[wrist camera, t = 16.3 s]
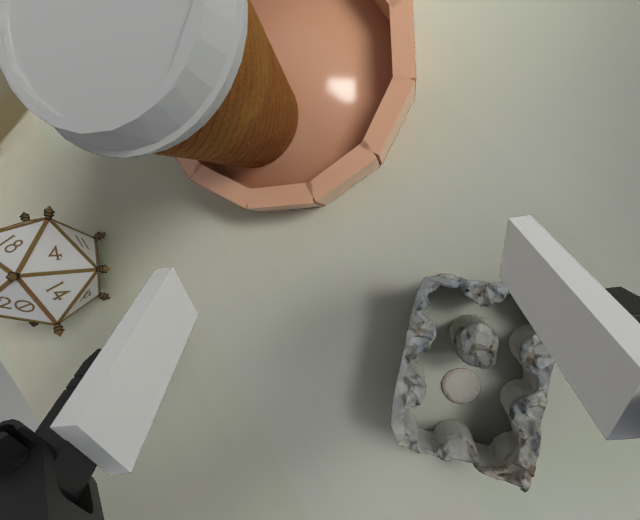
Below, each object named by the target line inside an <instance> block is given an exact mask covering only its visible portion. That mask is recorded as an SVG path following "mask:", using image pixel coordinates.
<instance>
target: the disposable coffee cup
mask: <svg viewBox="0 0 640 520" xmlns="http://www.w3.org/2000/svg"><path fill="white" fill-rule="evenodd" d="M0 67H1V69H2V71H3V73H4V75H5V77H6V79H7V81H8V83H9V85H10V87H11V89H12V90H13V91H14V93H15V94H16V95H17V96H18V98H19V99H20V100H21V101H22V103H23V104H24V105H25V106H26V107H27V109H28V110H30V111H31V112H32V113H34V114H35V115H37V116H38V117H40V118H41V119H42V120H44V121H45V122H47V123H48V124H49V125H51V126H53V127H54V128H55V129H56V130H57V131H58V132H59V133H60V134H61V135H62V136H63V137H64V138H65V139H66V140H68V141H70V142H72V143H73V144H75V145H77V146H78V147H80V148H82V149H83V150H86V151H89V152H92V153H95V154H98V155H101V156H106V157H115V158H130V157H139V156H144V155H148V154H154V153H155V154H157V155H165V156H173V157H179V158H186V159H191V160H198V161H206V162H212V163H219V164H225V165H234V166H239V167H244V168H258V167H262V166H265V165H267V164H270V163H272V162H273V161H275V160H276V159H278V158H279V157H280V156H281V155H282V154H283V153H284V152H285V151H286V150H287V148H288V147H289V145H290V144H291V142H292V140H293V138H294V136H295V133H296V129H297V125H298V115H299V113H298V105H297V101H296V98H295V95H294V93H293V91H292V89H291V87H290V85H289V83H288V80H287V78H286V76H285V74H284V72H283V70H282V67H281V65H280V63H279V61H278V59H277V57H276V54H275V52H274V50H273V48H272V46H271V44H270V42H269V40H268V38H267V35H266V33H265V31H264V28H263V26H262V24H261V22H260V20H259V17H258V15H257V13H256V11H255V9H254V6H253V5H252V3H251V0H0Z"/></svg>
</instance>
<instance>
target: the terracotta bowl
mask: <svg viewBox="0 0 640 520" xmlns="http://www.w3.org/2000/svg"><path fill="white" fill-rule="evenodd" d="M251 3H252V5H253V6H254V9H255V11H256V13H257V15H258V17H259V20H260V22H261V24H262V26H263V28H264V31H265V33H266V35H267V38H268V40H269V42H270V44H271V46H272V48H273V50H274V52H275V54H276V57H277V59H278V61H279V63H280V65H281V67H282V70H283V72H284V74H285V76H286V78H287V80H288V83H289V85H290V87H291V89H292V91H293V93H294V95H295V98H296V101H297V105H298V113H299V115H298V125H297V129H296V133H295V136H294V138H293V140H292V142H291V144H290V145H289V147H288V148H287V150H286V151H285V152H284V153H283V154H282V155H281V156H280V157H279V158H278V159H276V160H275V161H273V162H272V163H270V164H267V165H265V166H262V167H258V168H244V167H239V166H234V165H225V164H219V163H212V162H206V161H198V160H191V159H186V158H179V157H176V159H177V160H178V162H179V164H180V165H181V167H182V169H183V170H184V172H185V173H186V175H187V177H188V178H189V179H191V181H193V182H195V183H197V184H199V185H201V186H203V187H205V188H207V189H208V190H210V191H212V192H214V193H216V194H218V195H220V196H222V197H224V198H226V199H228V200H230V201H232V202H234V203H236V204H237V205H239V206H241V207H243V208H246V209H251V210H257V211H263V212H265V211H276V210H288V209H299V208H310V207H322V206H323V205H327V204H328V203H330V202H331V201H333V200H334V199H335V198H337V197H338V196H340V195H341V194H342V193H344V192H345V191H347V190H348V189H349V188H351V187H352V186H354V185H355V184H356V183H358V182H359V181H361V180H362V179H364V178H365V177H366V176H368V175H369V174H371V173H372V172H373V171H375V170H376V169H378V168H379V167H380V165H379V163H381V164H383V162H384V160H385V158H386V156H387V154H388V152H389V150H390V147H391V145H392V143H393V141H394V139H395V137H396V135H397V133H398V131H399V129H400V127H401V125H402V123H403V121H404V119H405V117H406V115H407V113H408V111H409V109H410V107H411V105H412V103H413V101H414V96H415V88H416V63H415V41H414V20H413V0H251Z"/></svg>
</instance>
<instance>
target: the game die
mask: <svg viewBox="0 0 640 520" xmlns="http://www.w3.org/2000/svg"><path fill="white" fill-rule="evenodd" d="M54 213H55V212H54V211H53V210H52V208H51V207H50V206H49V207H48V208H46V209H44V216H45V218H40V219H34V220H30V217H29V214H26V213H25V212H23V213H22V215H21V216H20V218H21V220H22V221H23V222H21V223H18V224H14V225H11V226H8V227H5V228H1V229H0V317H3V318H9V319H16V320H23V321H29V324H31V325H32V326H33V327H35V326H36V325H38V323H42V324H49V325H54V328H53V329H54V330H55V331H54V333H55V334H57V335H59V336H60V337H61V335H62V333H63V331H64V330H65V329H63V326H62V325H61V324H60V323H61V322H63V321H64V320H65V319H67V318H68V317H70V316H71V315H72V314H74V313H75V312H76V311H78V310H79V309H81V308H82V307H83V306H85V305H86V304H88V303H89V302H90V301H92V300H93V299H95V298H96V297H97V296H98V297H100V299H103V300H105V299H110V297H109V296H108V294H105V293H101V292H100V272H101V273H103V272H104V273H107V271H109V270H110V268H109V267H107V266H106V265H104V266H103V265H101V266H100V267H99V259H98V250H97V240H98V239H99V240H100V239H101V238H104V235H105V232H98V233H97V234H95V236H94V237H92V236H90V235H88V234H85V233H83V232H81V231H79V230H76V229H74V228H72V227H70V226H67V225H65V224H63V223H60V222H58V221H56V220H54V219H52V217H53V216H54V215H53V214H54Z"/></svg>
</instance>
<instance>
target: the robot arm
mask: <svg viewBox="0 0 640 520" xmlns="http://www.w3.org/2000/svg"><path fill="white" fill-rule="evenodd" d="M499 277H500V278H501V280H502V281H503V283H504V284H505V286H506V287H507V289H508V291H509V292H510V294H511V295H512V297H513V298H514V300H515V301H516V303H517V304H518V306H519V307H520V309H521V310H522V312H523V314H524V315H525V317H526V318H527V320H528V321H529V323H530V324H531V326H532V327H533V329H534V330H535V332H536V333H537V335H538V337H539V338H540V340H541V341H542V343H543V344H544V346H545V347H546V349H547V350H548V352H549V353H550V355H551V356H552V358H553V360H554V361H555V363H556V364H557V366H558V367H559V369H560V370H561V372H562V373H563V375H564V376H565V378H566V379H567V381H568V382H569V384H570V386H571V387H572V389H573V390H574V392H575V393H576V395H577V396H578V398H579V399H580V401H581V402H582V404H583V405H584V407H585V409H586V410H587V412H588V413H589V415H590V416H591V418H592V419H593V421H594V422H595V424H596V425H597V427H598V428H599V430H600V432H601V433H602V435H603V436H604V438H605V439H606V440H619V439H633V438H640V297H639V296H637V295H635V294H633V293H631V292H630V291H628V290H626V289H624V288H622V287H614V288H606V289H605V288H604V287H603V286H602V285H601V284H600V283H599V282H598V281H597V280H596V279H595V278H594V277H593V276H592V275H591V274H590V273H589V272H588V271H587V270H586V269H585V268H584V267H583V266H582V265H580V264H579V263H578V262H577V261H576V260H575V259H574V258H573V257H572V256H571V255H570V254H569V253H568V252H567V251H566V250H565V249H564V248H563V247H562V246H561V245H560V244H559V243H558V242H557V241H556V240H555V239H554V238H553V237H552V236H551V235H550V234H549V233H548V232H547V231H546V230H545V229H544V228H543V227H542V226H541V225H540V224H539V223H538V222H537V221H536V220H535V219H534V218H533V217H532V216H531V215H526V216H519V217H512V218H508V224H507V230H506V237H505V243H504V250H503V256H502V262H501V269H500V275H499ZM197 317H198V313H197V311H196V309H195V307H194V305H193V303H192V302H191V300H190V298H189V296H188V294H187V292H186V291H185V289H184V287H183V285H182V283H181V281H180V280H179V278H178V276H177V274H176V272H175V270H174V269H173V267H168V268H161V269H155V270H154V272H153V273H152V275H151V276H150V278H149V279H148V281H147V282H146V284H145V285H144V287H143V288H142V290H141V291H140V293H139V294H138V296H137V297H136V299H135V300H134V302H133V303H132V305H131V306H130V308H129V309H128V311H127V312H126V314H125V315H124V317H123V318H122V320H121V321H120V323H119V324H118V326H117V327H116V329H115V330H114V332H113V333H112V335H111V336H110V338H109V339H108V341H107V342H106V344H105V345H104V347H103V348H102V349H97V350H96V351H95V352H94V353H93V354H92V355H91V356H90V357H89V358H88V359H87V360H85V361H84V363H83V364H82V365H81V367H80V368H79V370H78V371H77V373H76V374H75V375H74V379H72V380H71V381H70V383H69V384H68V386H67V387H66V388H67V389H66V390H64V391H63V393H62V394H61V396H60V397H59V398H58V400H57V401H56V403H55V404H54V406H53V407H52V409H51V410H50V411H49V413H48V414H47V416H46V417H45V419H44V420H43V421H42V423H41V424H40V426H39V427H38V429H37V430H36V432H35V433H34V432H33V431H32V430H30V429H29V428H28V427H26V426H25V425H23V423H21V422H20V421H17V420H14V419H12V420H7V421H3V422H1V423H0V520H104V517H103V512H102V507H101V502H100V497H99V492H98V488H97V483H96V481H95V480H94V478H93V477H91V476H92V474H93V472H94V470H95V468H96V466H98V467H99V468H100V469H102V470H103V471H104V472H105V473H106V474H123V473H131V472H132V469H133V467H134V465H135V462H136V460H137V458H138V455H139V453H140V450H141V448H142V446H143V443H144V441H145V439H146V436H147V434H148V432H149V429H150V427H151V425H152V422H153V420H154V418H155V415H156V413H157V411H158V408H159V406H160V404H161V401H162V399H163V396H164V394H165V392H166V389H167V387H168V385H169V382H170V380H171V378H172V375H173V373H174V371H175V368H176V366H177V364H178V361H179V359H180V357H181V354H182V352H183V350H184V347H185V345H186V342H187V340H188V338H189V335H190V333H191V331H192V328H193V326H194V324H195V321H196V319H197Z"/></svg>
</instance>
